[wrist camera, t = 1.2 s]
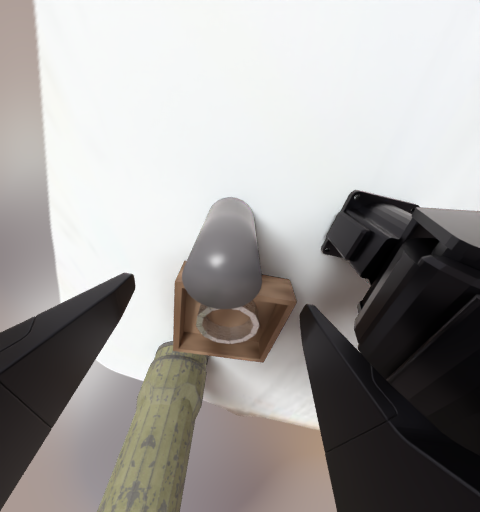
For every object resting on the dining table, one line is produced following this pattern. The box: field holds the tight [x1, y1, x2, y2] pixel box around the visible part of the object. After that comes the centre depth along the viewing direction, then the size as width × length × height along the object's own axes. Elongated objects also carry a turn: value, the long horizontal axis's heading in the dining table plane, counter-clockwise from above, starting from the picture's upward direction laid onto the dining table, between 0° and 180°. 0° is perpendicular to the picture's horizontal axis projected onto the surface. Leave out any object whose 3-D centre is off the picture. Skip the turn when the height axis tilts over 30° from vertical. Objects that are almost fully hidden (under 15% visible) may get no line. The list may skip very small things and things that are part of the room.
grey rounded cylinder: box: [182, 197, 262, 309], centre depth 14 cm, size 4×4×9 cm
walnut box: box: [173, 261, 297, 362], centre depth 23 cm, size 12×12×4 cm
